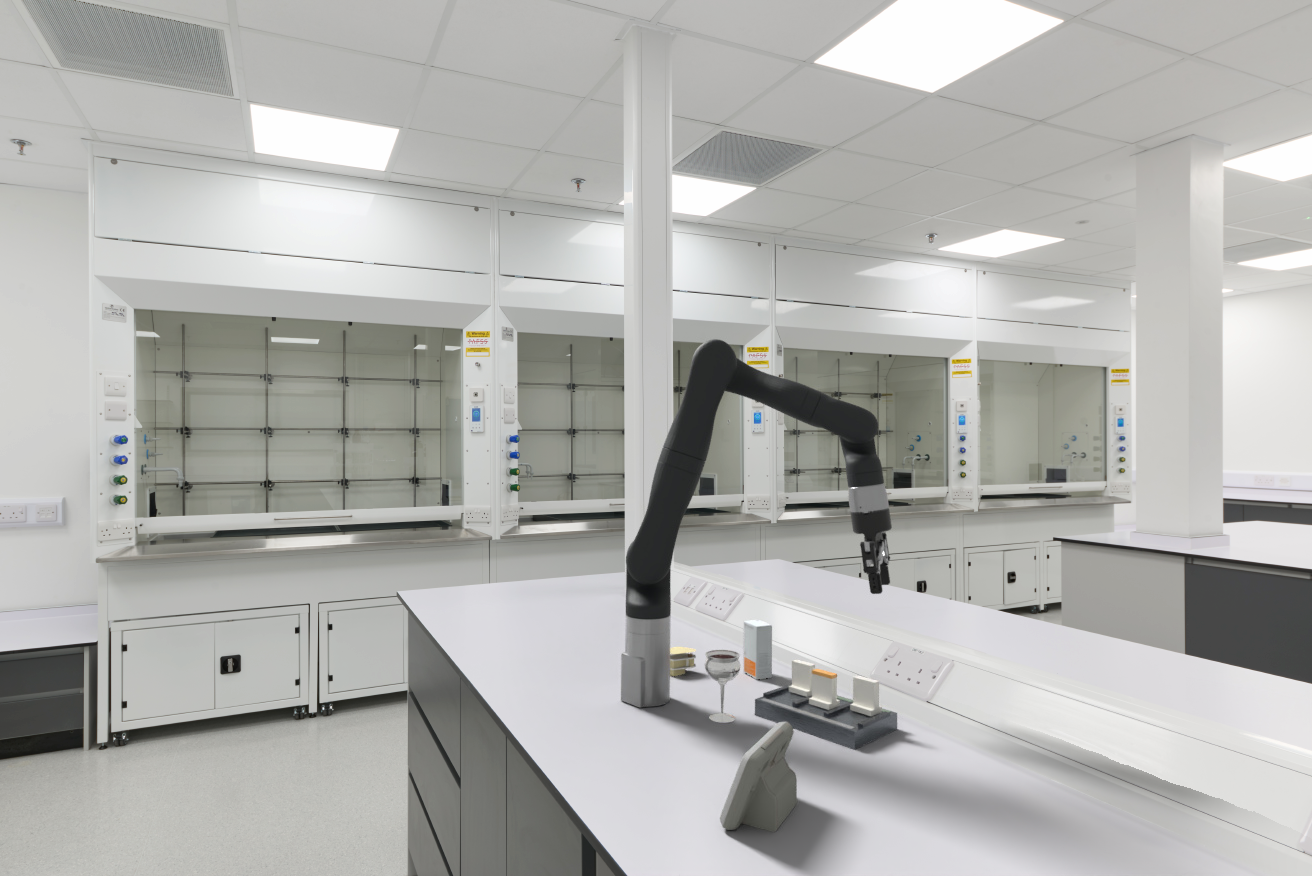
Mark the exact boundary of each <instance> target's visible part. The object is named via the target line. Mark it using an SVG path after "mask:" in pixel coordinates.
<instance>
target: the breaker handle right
mask: <svg viewBox="0 0 1312 876" xmlns="http://www.w3.org/2000/svg"><path fill="white" fill-rule="evenodd" d="M852 700H853V704H850V710H852V711H855V712H858V713H862V714H865V715H868V716H874V715H876V714H878V713H881V712H882V709H883V706H881V705H880V681H879V680H875V679H873V678H869V677H865V676H860V675H855V676H852Z"/></svg>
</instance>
